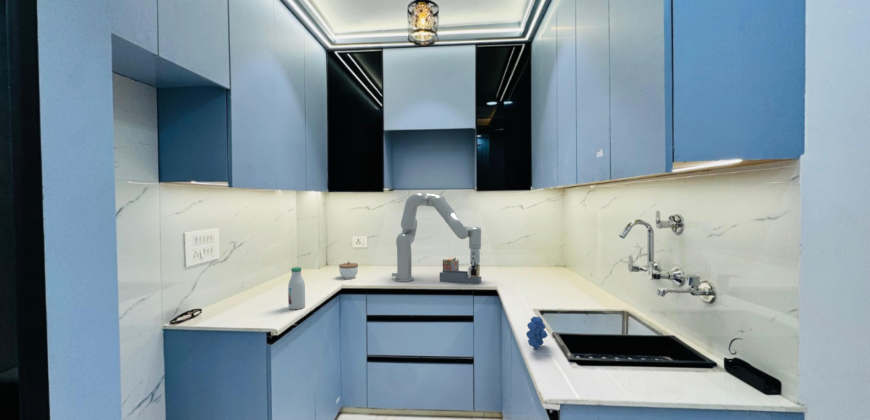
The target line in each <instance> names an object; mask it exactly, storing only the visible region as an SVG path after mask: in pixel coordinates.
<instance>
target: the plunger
mask: <svg viewBox="0 0 870 420" xmlns="http://www.w3.org/2000/svg"><path fill="white" fill-rule="evenodd" d="M467 271H468V274H466V276H468V278H471V277H472V276H471V266H468V268H467Z"/></svg>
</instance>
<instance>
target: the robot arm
mask: <svg viewBox="0 0 870 420" xmlns="http://www.w3.org/2000/svg"><path fill="white" fill-rule="evenodd" d="M420 206H421V207H422V206H425V207H431V208H434V209H435V210H436V211H437V213H439V215H440V216H441V218H442V219H443V220H444V222H445V223H446V224H447V226H448V227H449V228H450V229H451V231H452V232H453V234H454V235H455V236H456V237H457V238H458V239H461V240H465V239H466V238H468V249H469V250H470V255H469V258H470V261H469V262H470V265H472V268H471V275H474V276H476V264H477V265H478V264H480V263H481V262H480V261H481V256H480V253H481V252H480V251H481V248H482V246H481V245H482V229H481V227H479V226H464V224H463V223H462V222H461V221H460V219H459V218H458V216H457V214H456V212H455V210H454V209H453V208H452V207H451V206H450V204H449V203H448V201H446V197H445V196H443V195H441V194H433V193H432V194H431V193H425V192H416V193H413V194H411V195H409V197H408V198H406V201H405V205H404V209H403V212H402V213H403V214H402V217H401V220H400V227H401V229H402V230H401V233H399V234H398V235H397V237H396V240H395V242H396V243H395V244H396V245H395V246H396V250H397V251H396V261H397V263H396V265H397V266H396V267H397V269H396V271H397V272H391V276H392V277H395V278H394V281H396V282H401V283H402V282H403V283H405V282H412V281H414V280H415V277H414V276H412V275H413V274H412V270H413V269H412V263H413V262H412V245H411V244H413V242H414V240H415V237H416V232H417V229H418V228H417V227H418V219H417V218H416V217H417V212H418V207H420ZM474 265H475V266H474Z"/></svg>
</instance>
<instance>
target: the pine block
mask: <svg viewBox="0 0 870 420" xmlns="http://www.w3.org/2000/svg"><path fill="white" fill-rule="evenodd" d="M474 266H475V265H474ZM480 266H481V264H480V263H479V264H478V265H477V264H476V276H475V277H479V276H480V273H481V271H480V270H481V267H480ZM470 267H471V268H472V264H470ZM471 276H474V275H471Z"/></svg>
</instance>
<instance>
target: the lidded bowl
mask: <svg viewBox="0 0 870 420" xmlns="http://www.w3.org/2000/svg"><path fill="white" fill-rule="evenodd" d="M338 267H339V274H340V276H341V277H342V278H343V280H344V279H345V280H351V278H352V279H354V278H355V277H356V275H357V274H358V270H359V264H358V263H355V262H350V261H347V262H346V263H345V262H344V263H341V264H339V265H338Z"/></svg>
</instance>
